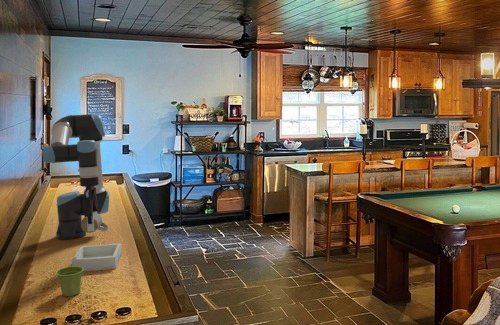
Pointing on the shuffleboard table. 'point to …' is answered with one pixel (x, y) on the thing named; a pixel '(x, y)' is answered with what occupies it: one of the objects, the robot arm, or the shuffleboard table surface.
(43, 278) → the shuffleboard table surface
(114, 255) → the bin
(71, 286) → the plant pot
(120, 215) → the shuffleboard table surface
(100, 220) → the ceramic mug
